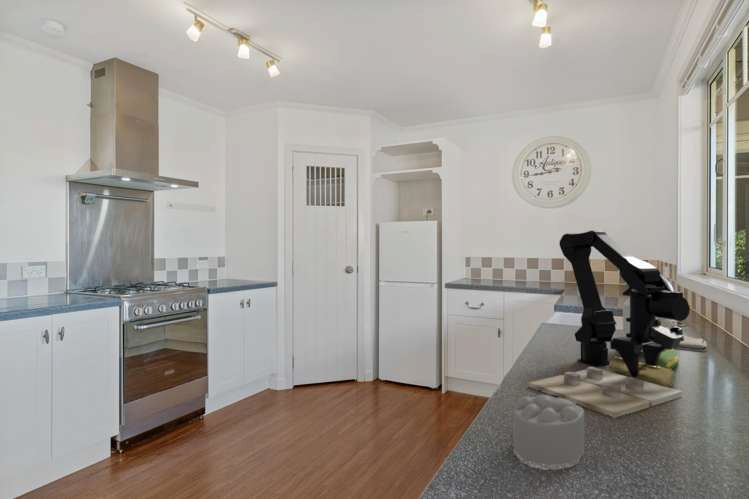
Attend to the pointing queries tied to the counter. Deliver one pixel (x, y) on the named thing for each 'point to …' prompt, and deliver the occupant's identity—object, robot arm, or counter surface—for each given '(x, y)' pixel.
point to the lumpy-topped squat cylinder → (548, 429)
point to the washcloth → (692, 344)
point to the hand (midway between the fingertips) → (642, 374)
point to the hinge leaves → (606, 391)
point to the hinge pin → (644, 372)
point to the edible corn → (668, 359)
